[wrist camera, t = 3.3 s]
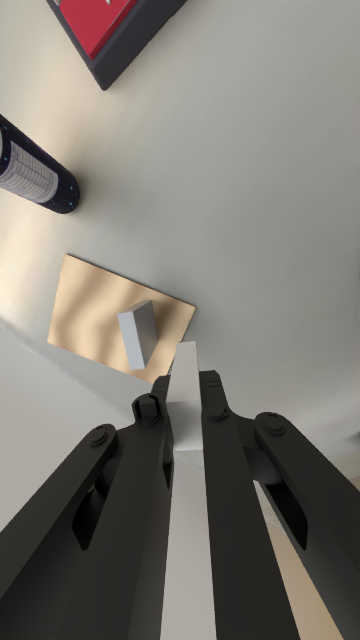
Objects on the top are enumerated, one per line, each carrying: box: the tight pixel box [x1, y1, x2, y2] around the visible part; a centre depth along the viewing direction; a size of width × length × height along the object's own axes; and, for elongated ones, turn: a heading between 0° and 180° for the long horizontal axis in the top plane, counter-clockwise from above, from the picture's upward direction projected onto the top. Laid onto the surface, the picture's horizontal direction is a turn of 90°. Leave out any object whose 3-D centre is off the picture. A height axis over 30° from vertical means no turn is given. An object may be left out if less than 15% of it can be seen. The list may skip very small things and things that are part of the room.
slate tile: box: [117, 300, 159, 370], centre depth 24 cm, size 2×7×9 cm, turn 8°
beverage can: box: [0, 114, 80, 214], centre depth 19 cm, size 6×6×12 cm
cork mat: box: [47, 254, 196, 384], centre depth 29 cm, size 22×16×1 cm
